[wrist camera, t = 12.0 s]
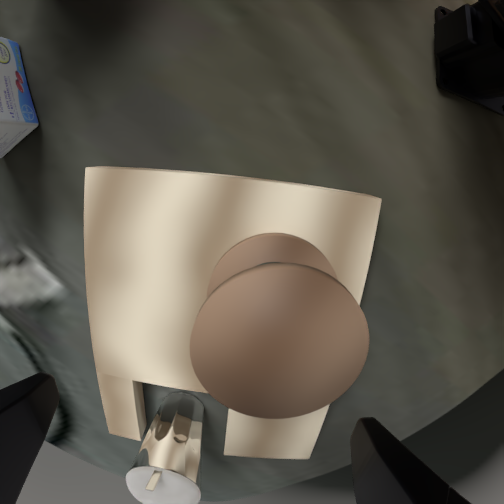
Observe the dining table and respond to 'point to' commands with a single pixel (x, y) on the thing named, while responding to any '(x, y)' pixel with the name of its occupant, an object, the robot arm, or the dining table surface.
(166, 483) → the milkshake
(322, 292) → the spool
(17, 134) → the medicine box
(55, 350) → the dining table surface
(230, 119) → the dining table surface
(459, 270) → the dining table surface
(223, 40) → the dining table surface
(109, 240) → the board
